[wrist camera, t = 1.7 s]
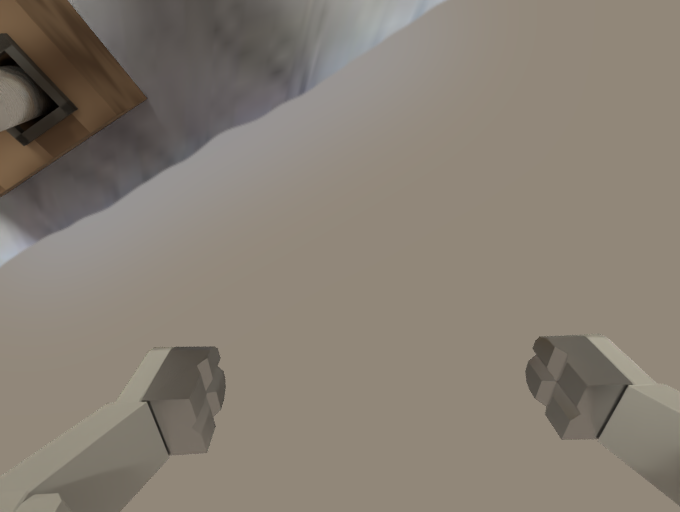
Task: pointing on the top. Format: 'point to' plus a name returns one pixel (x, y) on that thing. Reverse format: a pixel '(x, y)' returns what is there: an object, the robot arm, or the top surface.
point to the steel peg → (21, 97)
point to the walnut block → (58, 84)
